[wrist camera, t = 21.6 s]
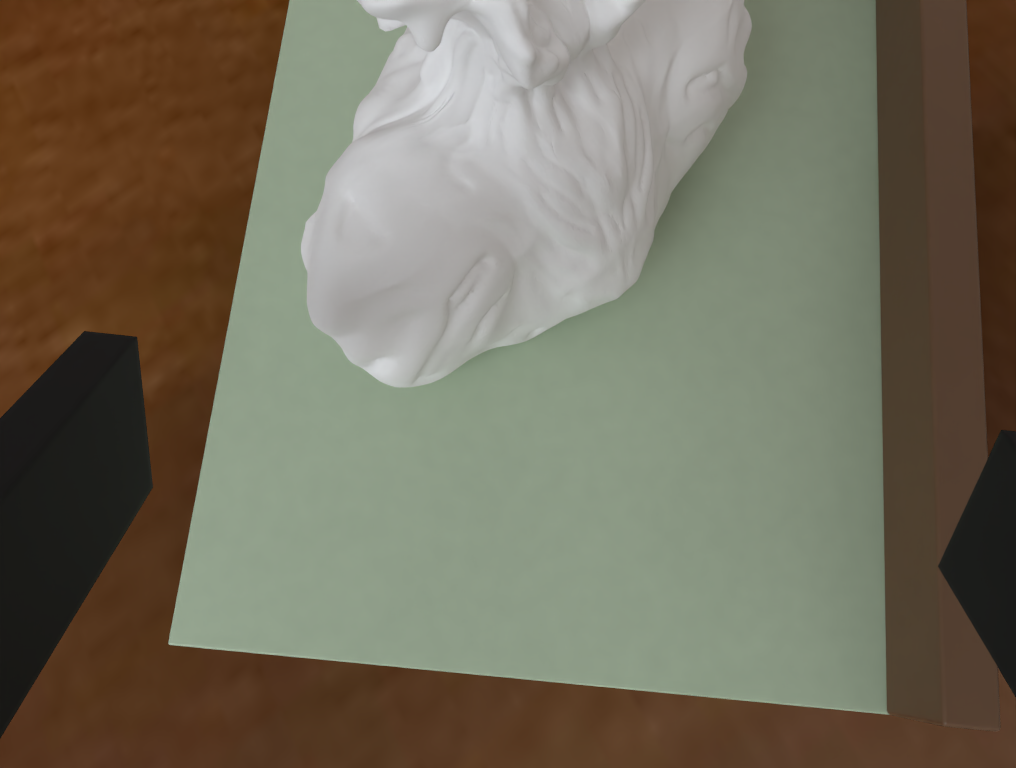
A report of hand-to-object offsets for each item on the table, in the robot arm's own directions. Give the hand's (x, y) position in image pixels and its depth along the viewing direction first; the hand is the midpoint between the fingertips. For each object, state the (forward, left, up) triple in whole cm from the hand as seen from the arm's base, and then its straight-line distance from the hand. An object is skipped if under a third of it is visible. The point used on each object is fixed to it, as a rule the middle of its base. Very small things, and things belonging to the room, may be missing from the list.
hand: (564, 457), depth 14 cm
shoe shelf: (-3, +7, -12) cm, 14 cm away
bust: (-5, +6, -7) cm, 10 cm away
